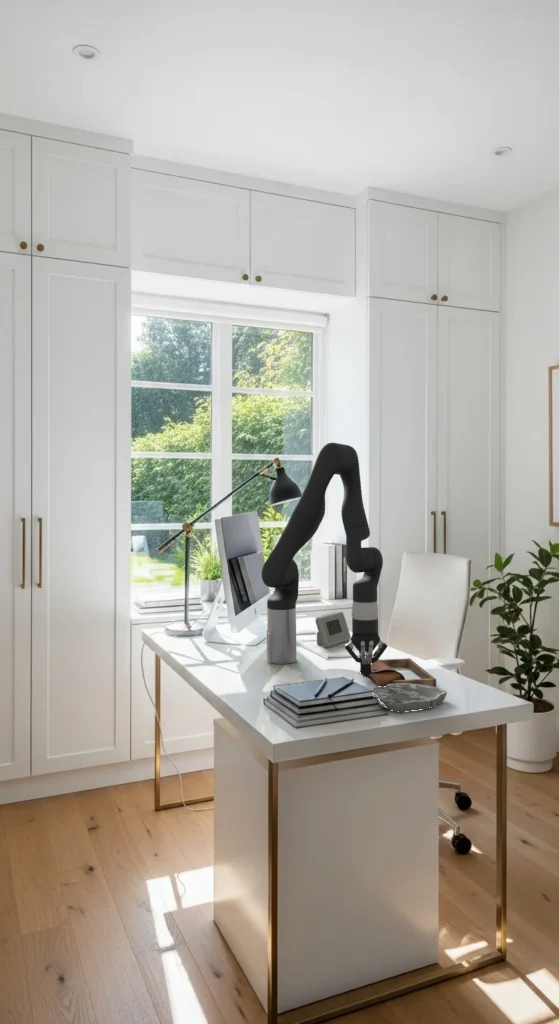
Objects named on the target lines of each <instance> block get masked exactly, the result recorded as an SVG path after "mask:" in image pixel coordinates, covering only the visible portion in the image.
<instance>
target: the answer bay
mask: <svg viewBox="0 0 559 1024" xmlns="http://www.w3.org/2000/svg"><path fill="white" fill-rule="evenodd" d="M377 661H378V660H377ZM377 661H376V662H377ZM380 661H382V662H383V663H385V664H387V665H388V666H390V667H391V668H393V669H398V668H399V669H401V668H404V669H405V668H408V669H409V670H410V671H412V672H413V673H414V674H415V675H416V676H417V677H419V678H415V679H413V678H412V679H411V678H410V679H405V680H393V684H394V683H410V684H422V685H430V686H434V687H437V678H435V677H434V676H433V675H431V674H430V673H429V672H428V671H426V670H425V669H424V668H423V667H421V666H420V665H418V663H416V662H415V661H414V660H412V659H411V658H407V657H406V658H392V659H391V658H388V659H387V658H386V659H385V658H384V659H380ZM373 663H375V661H374V662H372V663H371V664H373Z"/></svg>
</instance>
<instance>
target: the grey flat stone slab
mask: <svg viewBox="0 0 559 1024" xmlns="http://www.w3.org/2000/svg"><path fill="white" fill-rule="evenodd" d="M373 692H374V693H375V694H376V695H377V696H378V697H379V699H380V701H381V702H383V703H384V704H385V706H386V707H387V708H389V709H390V710H393V711H399V712H405V711H411V710H419V709H426V710H428V709H427V708H429V707H430V708H431V707H434V706H435V705H437V704H438V705H440V704H441V703H442V702H444V701H445V698H446V696H447V694H448V691H447V690H446V689H443V688H440V687H437V686H436V687H434V686H430V685H422V684H410V683H394V684H386V687H384V686H381V687H377V686H376V687H374V688H373V690H372V693H373ZM374 693H373V694H374ZM375 694H374V695H375ZM439 703H440V704H439ZM438 705H437V706H438ZM435 707H436V706H435ZM435 707H434V708H435ZM389 709H388V710H389ZM431 709H432V708H431ZM390 710H389V711H390Z"/></svg>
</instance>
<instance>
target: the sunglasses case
mask: <svg viewBox="0 0 559 1024" xmlns="http://www.w3.org/2000/svg"><path fill="white" fill-rule="evenodd" d="M380 660H381V659H380V658H379V659H378V661H377V662H375V663H373V664H372V663H371V674H370V675H369V677H368V678H369V679H371V680H372V681H373V682H374V684H375V685H376V687H377V686H386V684H393V680H406V678H405V676H404V675H403V674H402V673H401V672H400V671H398V670H396V669H395V668H391V667H390V666H388V665H387V664H385V663H383V662H382V661H380ZM368 678H367V679H368ZM369 679H368V680H369ZM371 680H370V681H371ZM372 681H371V682H372ZM373 682H372V683H373Z"/></svg>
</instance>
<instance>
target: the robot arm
mask: <svg viewBox="0 0 559 1024" xmlns="http://www.w3.org/2000/svg"><path fill="white" fill-rule="evenodd" d="M360 470H361V469H360V461H359V456H358V453H357V451H356V449H355V448H354V447H353V446H351V445H349V444H343V443H337V442H328V443H326V444H325V445H323V446H322V448H321V449H320V451H319V452H318V455H317V458H316V459H315V462H314V465H313V468H312V471H311V472H310V475H309V477H308V478H309V479H308V480H307V482H306V485H305V487H304V489H303V491H302V494H301V495H300V497H299V500H298V501H297V504H296V505H295V507H294V509H293V512H292V513H291V514H290V517H289V519H288V521H287V524H286V526H285V528H284V530H283V531H282V533H281V536H280V538H279V539H278V541H277V543H276V544H275V546H274V548H273V549H272V551H271V553H270V554H269V555H268V557H267V558H266V560H265V562H264V564H263V566H262V569H261V580H262V582H263V583H264V585H265V586H267V588H273V589H274V591H273V592H272V595H270V597H268V599H267V601H266V606H267V608H266V613H267V617H266V619H267V629H266V659H267V661H268V663H269V664H278V665H285V664H291V663H295V662H297V613H296V612H297V609H296V608H297V601H298V597H299V586H300V585H299V583H300V581H299V579H300V578H299V577H300V574H299V568H298V564H297V562H296V561H295V560H294V557H296V555H297V553H298V552H299V551H300V550H301V549H302V548H303V547H304V546H305V545H306V544H307V543H308V542H310V540H311V539H312V537H314V536H315V534H316V532H317V531H318V529H319V527H320V525H321V523H322V522H323V519H324V517H325V514H326V493H327V489H328V487H329V484H330V482H331V481H332V479H333V478H334V476H335V475H339V477H340V479H341V482H342V487H343V498H342V504H341V511H340V512H341V520H342V524H343V529H344V534H345V536H346V537H345V549H346V550H345V562H346V565H347V567H348V569H349V570H350V571H351V572H352V573H355V574H356V573H358V574H359V573H363V575H362V577H361V578H359V579H357V580H356V581H354V582H353V584H352V607H351V618H352V620H351V621H352V622H351V627H352V628H351V631H352V634H351V638H350V640H349V641H348V642H347V643H343V648H344V649H345V650H346V651H347V653H348V654H349V656H351V658H352V659H353V660H354V661H355V662H356V663H359V664H360V665H359V666H360V670H359V671H360V672H361V675H362V677H364V678H365V677H366V678H367V677H369V675H370V674H371V664H372V662H374V661H375V662H376V661H377V660H378V659H380V658H381V656H382V655H383V653H384V652H385V650H386V649H387V648H388V644H387V643H386V642H383V640H381V636H380V635H379V605H378V585H379V582H380V577H381V573H382V569H383V565H384V564H383V563H384V560H383V554H382V552H381V551H380V549H379V548H377V547H374V546H370V547H369V546H368V547H362V542H363V541H365V540H366V539H368V538H369V537H370V535H371V531H370V527H369V522H368V519H367V516H366V515H367V514H366V511H365V506H364V502H363V501H364V500H363V493H362V482H361V474H360V472H361V471H360ZM354 647H355V649H356V650H357V651H358V655H359V656H358V655H357V654H356V653H355V652H354ZM376 647H377V649H376ZM375 649H376V650H375ZM373 651H374V653H373Z"/></svg>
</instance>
